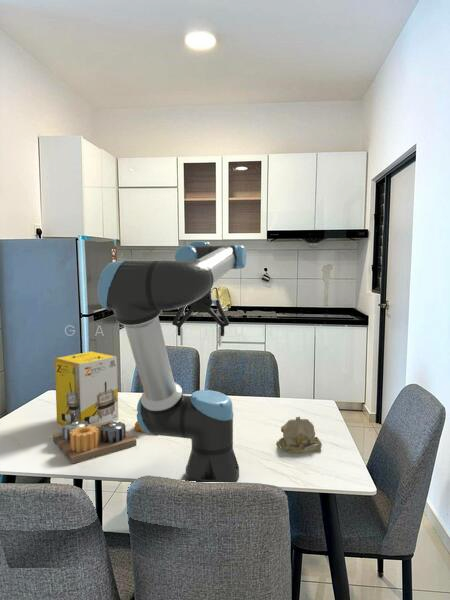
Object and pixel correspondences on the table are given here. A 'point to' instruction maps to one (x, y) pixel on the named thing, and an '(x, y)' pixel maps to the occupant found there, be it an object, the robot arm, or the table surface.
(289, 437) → the ceramic model
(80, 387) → the packaging box
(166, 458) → the table surface
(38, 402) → the table surface
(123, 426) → the gear
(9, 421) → the table surface
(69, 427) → the gear
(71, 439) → the orange gear
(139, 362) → the robot arm
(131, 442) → the gear board
